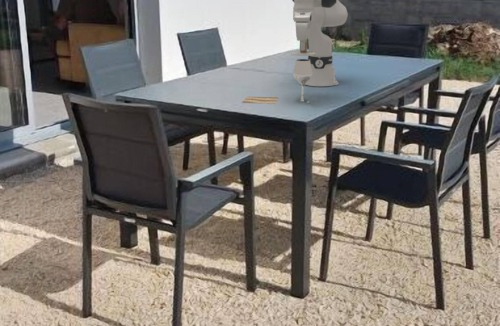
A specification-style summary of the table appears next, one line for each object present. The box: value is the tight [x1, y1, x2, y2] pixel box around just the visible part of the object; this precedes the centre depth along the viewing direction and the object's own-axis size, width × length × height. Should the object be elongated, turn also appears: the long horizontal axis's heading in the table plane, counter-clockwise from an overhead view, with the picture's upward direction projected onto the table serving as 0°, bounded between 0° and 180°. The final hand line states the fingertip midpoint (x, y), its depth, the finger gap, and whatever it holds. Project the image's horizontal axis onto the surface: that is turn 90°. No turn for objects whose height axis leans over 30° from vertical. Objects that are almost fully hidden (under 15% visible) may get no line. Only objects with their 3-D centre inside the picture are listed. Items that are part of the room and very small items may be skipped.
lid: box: [291, 42, 315, 57], centre depth 269 cm, size 10×10×5 cm
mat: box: [241, 96, 280, 105], centre depth 277 cm, size 14×14×1 cm
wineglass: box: [292, 58, 313, 104], centre depth 273 cm, size 8×8×18 cm
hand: (303, 49), depth 269 cm, fingers closed on lid, 3 cm apart
